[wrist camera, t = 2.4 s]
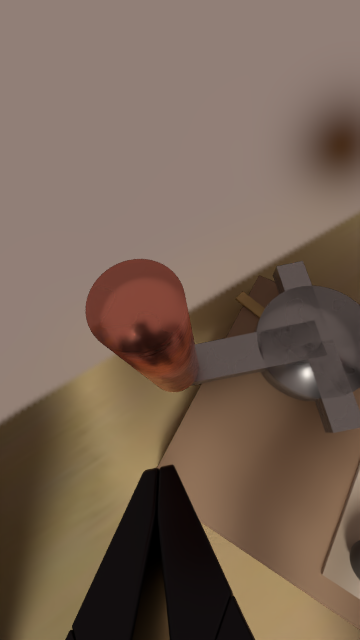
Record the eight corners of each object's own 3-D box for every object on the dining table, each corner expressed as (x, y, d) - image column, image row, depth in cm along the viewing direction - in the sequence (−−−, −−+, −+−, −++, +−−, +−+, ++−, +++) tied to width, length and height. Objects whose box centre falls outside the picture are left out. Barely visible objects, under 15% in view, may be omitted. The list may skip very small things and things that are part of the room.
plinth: (451, 376, 17) (515, 362, 13) (377, 627, 14) (435, 698, 10) (246, 286, 20) (254, 255, 16) (146, 473, 17) (129, 486, 13)
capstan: (353, 264, 17) (512, 82, 8) (419, 412, 14) (783, 387, 5) (145, 307, 18) (75, 179, 9) (169, 461, 15) (101, 516, 6)
